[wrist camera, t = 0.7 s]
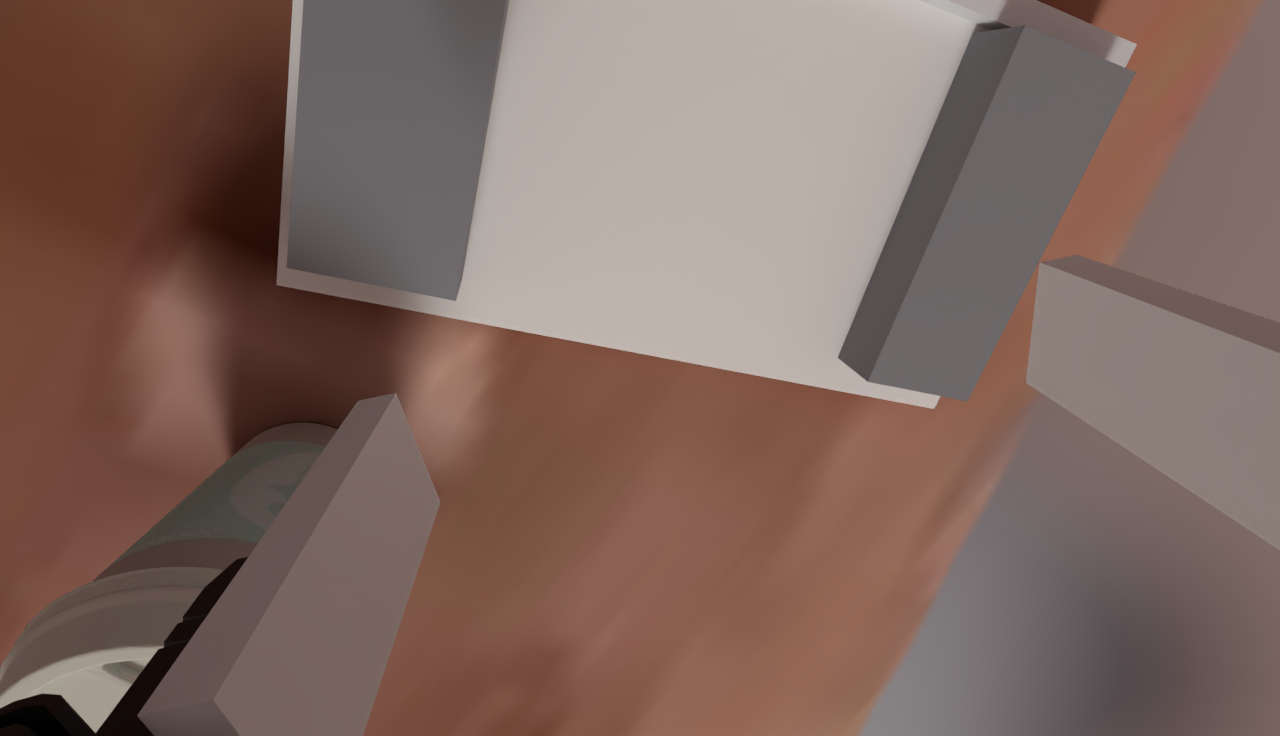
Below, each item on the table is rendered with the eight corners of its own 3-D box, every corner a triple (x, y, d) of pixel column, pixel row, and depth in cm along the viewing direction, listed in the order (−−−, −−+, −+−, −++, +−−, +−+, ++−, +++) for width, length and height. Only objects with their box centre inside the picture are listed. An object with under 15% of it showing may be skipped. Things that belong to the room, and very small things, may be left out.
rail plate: (290, 273, 22) (247, 307, 19) (327, -280, 17) (275, -385, 13) (915, 394, 30) (970, 435, 26) (1082, 44, 24) (1180, 34, 21)
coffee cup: (445, 527, 28) (401, 798, 17) (259, 583, 27) (91, 902, 16) (369, 365, 24) (252, 580, 13) (151, 426, 23) (-159, 703, 13)
